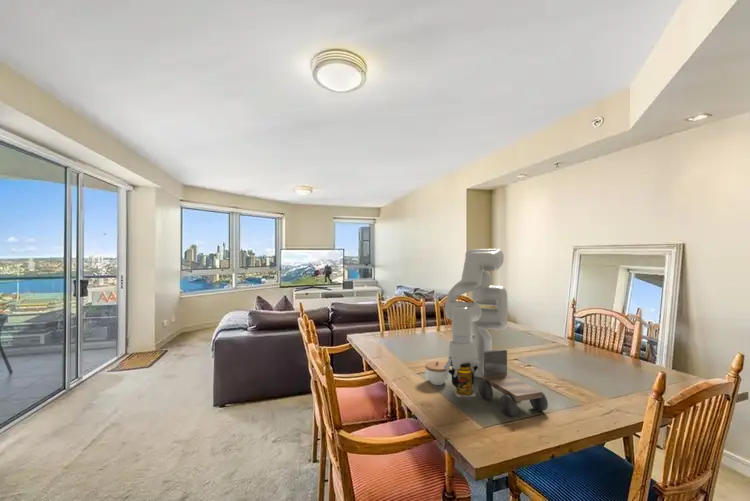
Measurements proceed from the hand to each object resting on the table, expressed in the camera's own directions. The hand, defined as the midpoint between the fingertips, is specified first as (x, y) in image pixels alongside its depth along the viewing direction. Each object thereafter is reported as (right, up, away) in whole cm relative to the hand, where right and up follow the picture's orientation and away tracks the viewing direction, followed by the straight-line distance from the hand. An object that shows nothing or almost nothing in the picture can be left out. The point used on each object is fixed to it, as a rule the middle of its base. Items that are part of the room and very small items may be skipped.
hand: (462, 384), depth 129 cm
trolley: (+18, -8, -1) cm, 20 cm away
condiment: (0, -3, 0) cm, 3 cm away
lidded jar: (-6, -8, +22) cm, 24 cm away
